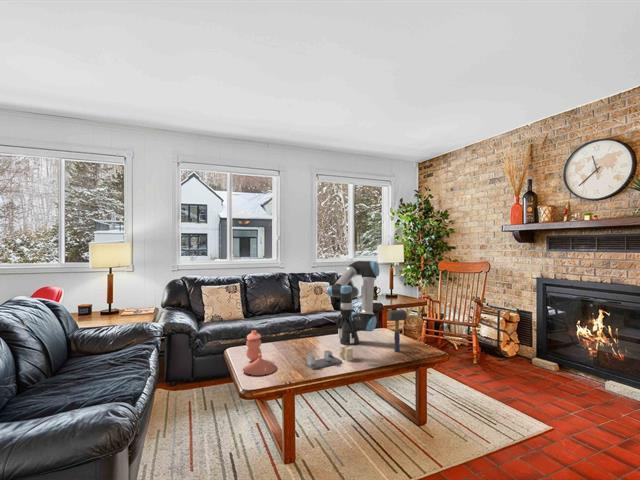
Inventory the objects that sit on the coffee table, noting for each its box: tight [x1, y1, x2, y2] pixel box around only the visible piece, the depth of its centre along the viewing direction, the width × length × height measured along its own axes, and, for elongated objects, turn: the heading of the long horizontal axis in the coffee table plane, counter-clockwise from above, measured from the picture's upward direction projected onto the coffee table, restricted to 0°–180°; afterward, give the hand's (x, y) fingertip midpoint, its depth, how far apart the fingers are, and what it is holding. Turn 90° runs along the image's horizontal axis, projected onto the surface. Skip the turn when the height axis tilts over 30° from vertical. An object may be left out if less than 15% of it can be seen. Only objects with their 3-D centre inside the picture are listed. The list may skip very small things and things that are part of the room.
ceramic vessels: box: [242, 329, 278, 376], centre depth 222 cm, size 35×21×19 cm, turn 22°
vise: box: [304, 353, 343, 370], centre depth 224 cm, size 10×22×7 cm, turn 122°
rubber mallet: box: [387, 309, 408, 353], centre depth 247 cm, size 12×8×30 cm, turn 104°
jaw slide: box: [323, 350, 335, 362], centre depth 224 cm, size 8×3×6 cm, turn 32°
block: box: [339, 344, 354, 362], centre depth 233 cm, size 8×5×8 cm, turn 32°
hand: (346, 340), depth 233 cm, fingers open, 13 cm apart
